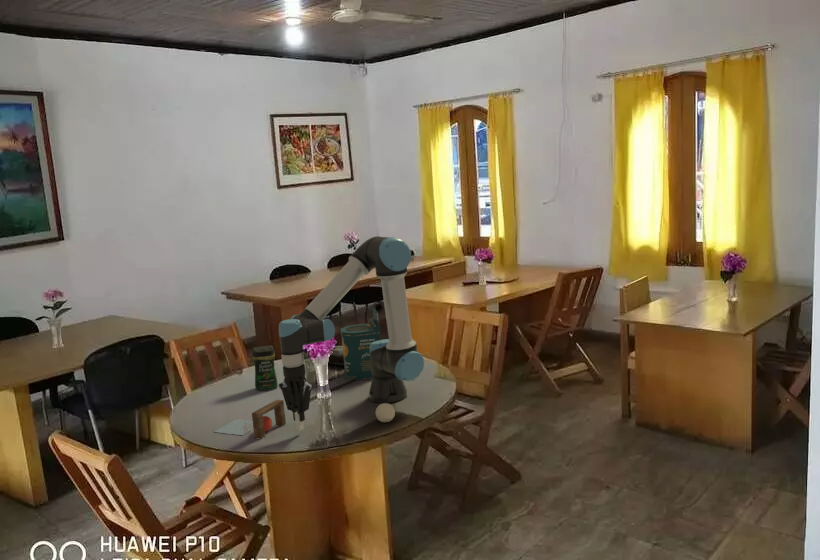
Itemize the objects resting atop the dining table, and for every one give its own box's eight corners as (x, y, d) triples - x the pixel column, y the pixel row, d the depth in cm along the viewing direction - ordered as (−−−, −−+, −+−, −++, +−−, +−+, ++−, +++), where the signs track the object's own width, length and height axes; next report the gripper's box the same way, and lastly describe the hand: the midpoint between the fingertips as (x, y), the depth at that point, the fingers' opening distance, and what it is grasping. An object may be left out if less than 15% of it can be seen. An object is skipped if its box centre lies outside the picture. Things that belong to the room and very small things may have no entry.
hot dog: (318, 365, 333) (316, 349, 332) (335, 359, 342) (334, 343, 340) (344, 370, 321) (342, 353, 320) (361, 364, 330) (360, 348, 328)
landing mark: (264, 422, 260) (264, 422, 259) (242, 435, 248) (242, 435, 248) (236, 419, 265) (236, 419, 265) (213, 432, 254) (213, 431, 254)
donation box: (384, 376, 307) (378, 314, 302) (347, 381, 304) (341, 318, 299) (377, 366, 322) (372, 307, 318) (343, 371, 319) (337, 311, 315)
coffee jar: (255, 392, 297) (250, 350, 294) (255, 387, 305) (251, 345, 302) (278, 389, 299) (274, 347, 296) (278, 384, 307) (273, 343, 304)
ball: (275, 429, 252) (274, 415, 251) (266, 435, 247) (265, 420, 246) (263, 426, 255) (262, 412, 253) (253, 432, 250) (252, 418, 249)
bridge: (285, 424, 256) (283, 400, 255) (261, 439, 243) (258, 413, 242) (279, 423, 258) (276, 399, 256) (254, 438, 245) (251, 413, 243)
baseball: (384, 426, 246) (382, 408, 245) (373, 421, 252) (371, 404, 251) (399, 421, 250) (398, 403, 249) (388, 416, 256) (386, 399, 255)
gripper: (315, 362, 241) (321, 427, 245) (284, 360, 247) (291, 424, 251) (303, 368, 235) (309, 435, 238) (271, 366, 240) (278, 431, 244)
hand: (300, 429), depth 245 cm, fingers closed
